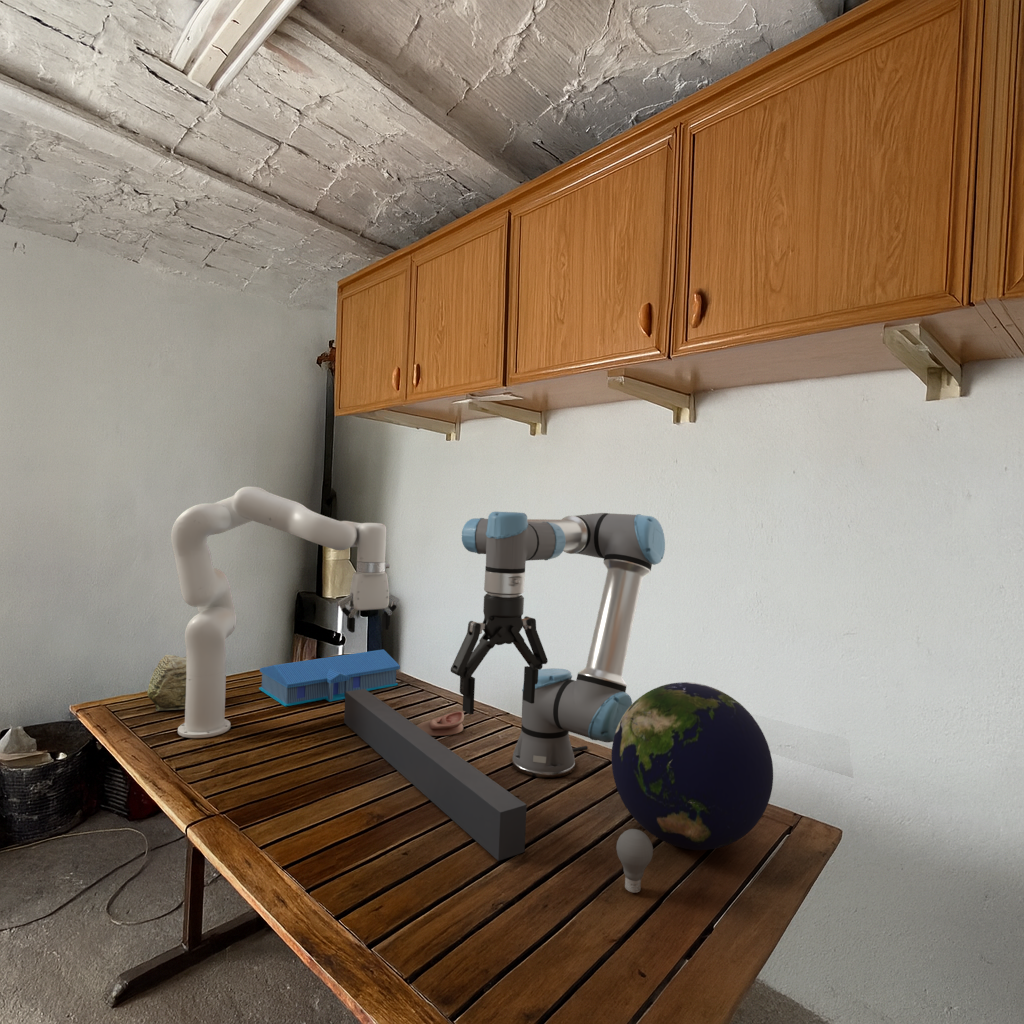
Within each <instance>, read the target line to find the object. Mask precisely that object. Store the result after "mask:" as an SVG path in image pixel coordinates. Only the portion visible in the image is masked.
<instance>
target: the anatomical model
mask: <svg viewBox="0 0 1024 1024" xmlns="http://www.w3.org/2000/svg"><path fill="white" fill-rule="evenodd" d="M464 720H465V713H464V711H460V710H459V711H454V712H450V713H447V714H444V715H441V716H439V717H435V718H432V719H429V720H426V721H423V722H420V723H418V724H417V725H416V726H418V727H419V728H420V729H422V730H423V731H424V732H426V733H427V734H429V735H430V736H431V737H439V736H451V735H456V734H459V733H461V732H463V730H464V725H463V722H464Z"/></svg>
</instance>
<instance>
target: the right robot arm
mask: <svg viewBox="0 0 1024 1024" xmlns="http://www.w3.org/2000/svg"><path fill="white" fill-rule="evenodd" d="M461 542H462V545H463V547H464V549H466V550H467V551H468V552H470V553H473V554H474V553H475V554H478V555H485V568H484V569H485V570H484V584H483V585H484V587H483V590H484V592H485V594H484V596H483V608H482V609H483V611H482V612H483V617H484V618H483V621H482V622H476V621H474V620H470V621H468V625H467V631H466V635H465V637H464V639H463V641H462V643H461V645H460V647H459V650H458V651H457V654H456V656H455V659H454V660H453V663H452V665H451V666H450V667H451V668H450V672H451V673H452V674H454V675H456V676H458V677H459V693H460V695H461V696H462V712H465V713H467V714H468V715H474V712H475V711H474V709H475V689H476V678H475V677H474V676H473V674H475V671H476V670H477V669H478V668H479V666H480V664H481V663H482V661H483V660H484V659H485V658H486V656H487V655H488V653H489V652H490V651H491V650H492V649H493V648H494V647H495V646H501V645H504V644H506V645H512V644H513V645H514V647H515V649H517V651H518V652H519V654H520V655H521V656H522V658H523V659H524V661H525V662H526V664H527V665H528V666H524V667H523V668H524V671H523V685H522V690H521V691H522V697H521V699H522V700H521V728H520V734H519V736H518V739H517V741H516V745H515V747H514V750H513V753H512V758H511V759H512V763H511V764H512V766H513V768H515V770H517V771H518V772H520V773H522V774H523V775H527V776H531V777H536V778H543V779H544V778H545V779H552V778H560V777H565V776H568V775H569V774H571V773H572V772H574V770H575V768H576V767H575V766H576V759H575V754H574V753H576V752H581V751H586V750H588V746H587V745H583V746H576V747H572V743H571V739H570V733H572V734H575V735H579V736H582V737H585V738H588V739H590V740H592V741H599V742H603V743H613V739H614V736H615V732H616V729H617V727H618V724H619V722H620V720H621V718H622V717H623V715H624V714H625V712H626V711H627V710H628V708H629V707H630V706H631V705H632V704H633V700H632V697H631V695H630V694H628V693H627V687H628V685H627V683H626V681H625V680H624V677H623V673H624V668H625V663H626V660H627V655H628V649H629V645H630V641H631V635H632V631H633V626H634V620H635V617H636V611H637V607H638V602H639V597H640V592H641V588H642V583H643V579H644V578H645V577H646V576H648V575H650V574H651V571H652V567H653V566H656V565H658V564H660V563H661V562H662V560H663V558H664V557H665V556H664V555H665V551H666V537H665V533H664V529H663V527H662V525H661V523H660V521H659V520H658V519H657V518H655V516H651V515H644V514H640V513H636V514H628V513H608V512H597V513H596V512H595V513H588V514H578V515H567V516H565V517H562V518H560V519H547V518H546V519H545V518H544V519H543V518H542V519H541V518H538V519H535V518H534V519H533V518H532V519H531V518H529V519H528V515H527V513H525V512H516V511H492V512H490V513H489V514H488V517H487V518H484V517H479V518H471V519H469V520H467V521H466V522H465V524H464V525H463V527H462V530H461ZM563 552H564V553H565V554H570V555H583V556H588V557H593V558H597V559H603V562H602V563H603V565H604V566H605V568H606V570H607V572H606V576H605V581H604V585H603V589H602V594H601V597H600V603H599V607H598V611H597V616H596V620H595V624H594V630H593V633H592V639H591V643H590V648H589V652H588V656H587V661H586V664H585V667H584V668H583V669H581V670H580V671H578V672H577V674H576V680H575V679H572V678H573V675H572V672H571V671H570V670H568V669H566V668H543V665H547V664H548V662H549V660H548V657H547V655H546V652H545V649H544V647H543V646H544V645H543V643H542V641H541V638H540V636H539V633H538V630H537V620H536V618H533V617H531V616H527V615H525V616H524V617H522V616H523V615H524V607H525V597H524V596H523V595H522V594H524V592H525V585H526V584H525V583H526V563H527V561H529V562H530V561H549V560H551V559H556V558H558V557H559V556H561V555H562V554H563ZM522 629H524V634H525V635H526V639H527V641H528V643H529V644H527V643H526V642H525V639H524V637H523V635H522V634H521V630H522ZM481 634H482V636H481ZM480 636H481V637H480ZM478 642H479V643H478ZM477 643H478V644H477ZM528 645H529V646H530V647H529V646H528Z"/></svg>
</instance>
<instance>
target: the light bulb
mask: <svg viewBox="0 0 1024 1024" xmlns="http://www.w3.org/2000/svg"><path fill="white" fill-rule="evenodd" d="M615 849H616V854H617V857H618V859H619V861H620V863H621V865H622V867H623V873H624V874H623V875H624V876H625V878H624V888H625V890H627V891H628V892H630V893H634V894H635V893H639V892H640V891H641V889H642V887H641V886H642V879H643V877H644V875H645V871H646V868H647V867H648V866H649V864H650V863H651V861H652V859H653V855H654V847H653V843H652V841H651V838H649V836H648V835H647V834H646V833H645V832H643V831H642V830H641V829H636V828H629V829H627V830H625V831H623V832H622V833H621V834H620V835H619V837H618V839H617V841H616V847H615Z"/></svg>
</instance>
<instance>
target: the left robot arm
mask: <svg viewBox="0 0 1024 1024" xmlns="http://www.w3.org/2000/svg"><path fill="white" fill-rule="evenodd" d="M251 522H256V523H258V524H262V525H264V526H268V527H270V528H273V529H275V530H279V531H282V532H285V533H288V534H290V535H292V536H295V537H298V538H301V539H303V540H306V541H309V542H311V543H313V544H317V545H320V546H322V547H325V548H329V549H331V550H335V551H346V550H348V549H350V548H355V547H356V548H357V551H356V552H357V553H356V554H357V555H356V572H353V574H352V577H351V582H350V587H349V594H348V595H347V596H344V597H343V598H341V599H340V600H338V601H337V604H338V606H339V608H340V611H341V612H342V613H343V615H345V616H346V629H347V630H348V632H350V633H352V634H353V633H355V632H356V631H355V630H356V617H355V615H356V614H357V613H358V612H359V611H375V610H382V612H383V613H382V614H381V629H384V630H386V631H387V630H389V627H390V625H391V615H392V614H393V612H394V611H395V610H396V609H397V606H398V604H399V603H400V600H401V599H400V598H399V597H398V596H396V595H394V594H392V593H390V587H389V578H388V577H389V576H388V573H387V572H386V570H387V569H390V566H391V565H390V563H389V562H388V563H387V561H386V551H387V550H386V549H387V527H386V525H385V524H384V523H380V522H356V521H350V520H337V519H335V518H332V517H330V516H329V517H328V516H325V515H323V514H320V513H317V512H316V511H313V510H311V509H310V508H308V507H306V506H305V505H303V504H302V503H300V502H298V501H295V500H292V499H289V498H286V497H283V496H280V495H277V494H274V493H272V492H270V491H269V492H268V491H267V490H265V489H264V488H262V487H260V486H250V485H249V486H243V487H241V488H238V489H237V491H236V492H234V494H233V495H232V496H229V497H227V498H224V499H221V500H218V501H216V502H203V503H198V504H195V505H193V506H190V507H188V508H187V509H185V510H184V511H183V512H181V514H179V516H178V517H177V518H176V520H175V521H174V523H173V525H172V527H171V532H170V540H171V546H172V552H173V556H174V560H175V567H176V573H177V576H178V578H177V579H178V583H179V587H180V593H181V597H182V598H183V600H184V602H185V603H186V604H187V605H188V606H191V607H193V608H197V612H198V613H197V614H195V615H194V616H193V617H192V618H191V619H190V620H189V621H188V622H187V625H186V627H185V630H184V641H185V642H184V643H185V653H186V654H185V657H187V665H186V701H185V709H184V722H182V724H180V725H179V726H178V727H177V734H178V735H179V736H180V737H182V738H188V739H207V738H212V737H216V736H220V735H222V734H224V733H227V732H228V731H230V729H231V727H232V725H231V723H232V722H231V721H230V720H228V719H226V718H225V715H226V692H227V691H226V689H227V650H226V639H227V638H229V637H230V636H231V635H232V634H233V632H234V631H235V629H236V627H237V621H238V620H237V612H236V607H235V603H234V597H233V593H232V587H231V584H230V581H229V579H228V576H227V574H225V572H223V571H222V570H221V569H218V568H217V567H214V562H213V559H212V553H211V550H210V547H209V544H208V541H207V540H208V537H209V536H213V535H219V534H223V533H226V532H228V531H230V530H233V529H235V528H238V527H240V526H242V525H246V524H249V523H251ZM390 601H391V604H390ZM347 603H348V606H349V609H348V608H347V606H346V605H347ZM389 604H390V605H389Z"/></svg>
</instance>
